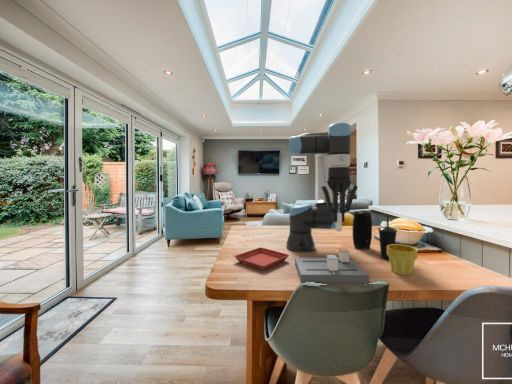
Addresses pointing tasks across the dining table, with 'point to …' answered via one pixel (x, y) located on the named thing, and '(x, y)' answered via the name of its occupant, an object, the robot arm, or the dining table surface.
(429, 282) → the dining table surface
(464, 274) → the dining table surface
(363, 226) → the portable speaker
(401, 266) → the plant pot
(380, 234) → the black bottle
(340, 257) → the block
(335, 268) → the fader front
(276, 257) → the plant saucer
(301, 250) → the robot arm
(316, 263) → the fader board
